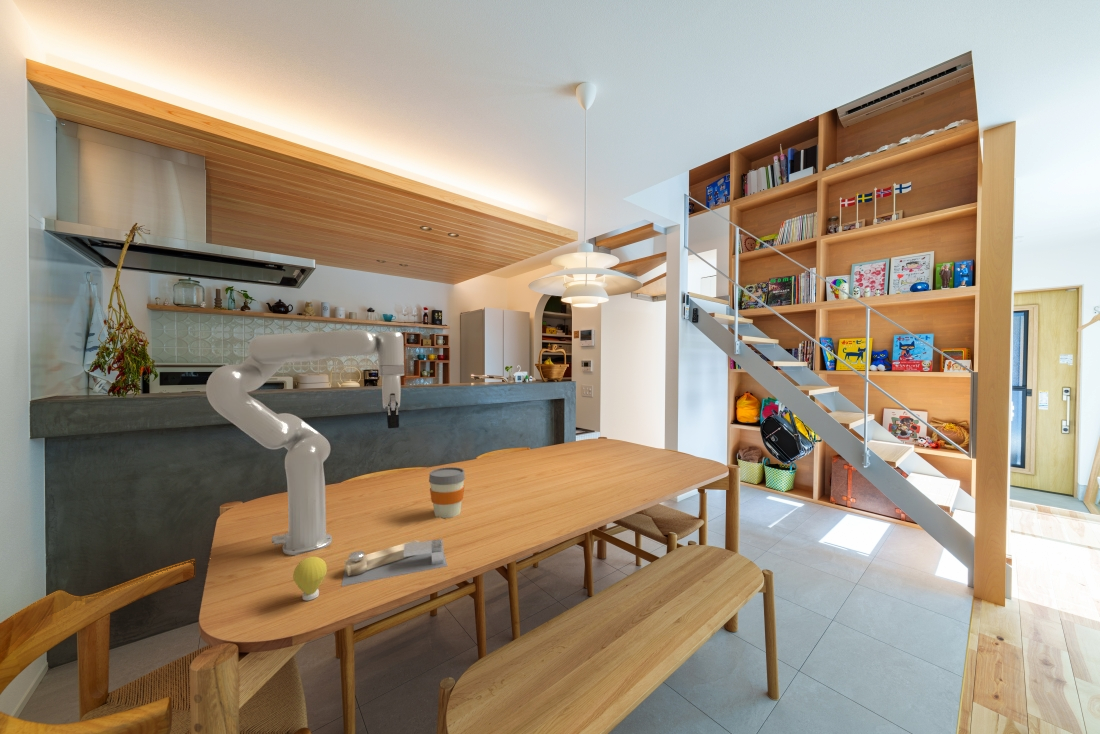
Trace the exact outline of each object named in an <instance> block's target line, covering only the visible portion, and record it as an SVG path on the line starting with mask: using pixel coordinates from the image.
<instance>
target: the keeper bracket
mask: <svg viewBox="0 0 1100 734" xmlns="http://www.w3.org/2000/svg"><path fill="white" fill-rule="evenodd" d="M406 543H407V542H406ZM443 551H444V539H443V538H440V539H439V538H438V539H432V540H424V541H419V542H415V543H407V544H405V545H404V557H406V556H414V555H421V554H428V553H432V565H435V564H442V563H443Z"/></svg>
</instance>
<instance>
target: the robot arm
mask: <svg viewBox="0 0 1100 734" xmlns="http://www.w3.org/2000/svg"><path fill="white" fill-rule="evenodd" d="M404 344H405V343H404V335H403V334H402V332H400V331H380V332H378V333H377V332H370V331H368V330H365V329H351V330H350V329H349V330H334V331H332V330H331V331H312V332H310V331H308V332H298V333H297V332H293V333H280V334H279V333H276V334H262V335H258V336H256V337H254V338H253V339H252V340H251V341H250V342H249V344H248V348H247V350H248V354H249V356H248V357H247V358H246V359H245V360H244V361H242V362H241V363H240V364H239V363H238V364H237V363H236V364H235V363H234V364H227V365H222V366H220V367H218V368H216V369H215V370H214V371H212V373H211V374H210V375H209V376H208V380H207V381H206V385H205V393H206V397H207V400H208V402H209V404H210V406H211V407H212V408H213V409H214V410H215V411H216V412H217V413H218V414H219V415H220V416H222V417H223V418H225V419H226V420H228V421H229V422H231V424H233V425H235V426H236V427H237V428H238V429H240V431H242V432H243V433H245V434H246V435H248V436H249V437H250V438H252V439H254V441H256V442H257V443H259V444H260V446H262V447H264V448H265V449H268V450H279V449H282V448H285V449H286V450H287V453H286V454H285V458H284V469H285V474H286V475H285V476H286V482H287V483H286V484H287V512H288V513H287V514H288V516H287V518H288V532H286V533H284V534H279V535H272V536H271V543H272V544H274V546H277V545H282V544H283V546H282V552H283V553H284V554H285V555H289V556H299V555H303V554H306V553H310V552H314V551H318V550H321V549H325V548H327V547H328V546H330V544H331V543H332V541H333V537H332V536H333V535H331V534H330V533H328V532H327V524H326V523H327V520H326V519H327V517H326V516H327V515H326V514H327V513H326V512H327V510H326V481H325V480H326V479H325V478H326V477H325V471H324V470H325V469H324V462H325V461H326V460H327V459H328V457H329V456H330V455H331V454H330V453H331V444H330V442H329V441H328V439H327V438H326V437H325V436H324V435H323V434H321V433H320V432H319V431H318V430H316V429H315V428H313V427H312V426H311V425H310V424H309V423H307V422H305V421H304V420H303V419H302V418H300V417H298V416H297V415H294V414H292V413H283V412H282V413H276V412H275V411H273V410H272V409H270V408H269V407H268V406H266V405H265V404H264V403H263V402H261V401H260V400H258V399H256V398H254V397H253V396H252V395H249V394H248V393H249V392H254V391H256V390H257V389H260V387H262V386H263V385H264V384H265V383H267V381H268V380H270V379H271V378H272V377H273V375H274V374H276V373H277V371H279V370H280V369H281V368H282V367H283V366H284V364H289V363H301V362H302V363H303V362H316V361H320V360H324V359H331V358H339V357H340V358H342V357H355V356H356V357H357V356H364V357H365V356H372V355H377V358H378V359H377V360H378V361H377V362H378V363H377V365H378V369H377V370H378V377H381V378H382V380H381V383H382V384H381V393H382V394H381V395H382V408H383V409H386V407H387V411H386V417H387V418H386V419H387V420H386V422H387V428H388V429H396V428H397V429H398V428H400V414H399V408H400V406H401V394H402V393H401V387H402V386H401V377H403V376H405V354H404V353H405V352H404V351H405V347H404Z"/></svg>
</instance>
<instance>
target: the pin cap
mask: <svg viewBox="0 0 1100 734" xmlns="http://www.w3.org/2000/svg"><path fill="white" fill-rule="evenodd" d="M364 555H365V551H361V550H359V551H357V550H356V551H353V552H352V553H350V554H349V555H348V559H350V560H351V561H352V562H358V561H361V560H362V557H364Z"/></svg>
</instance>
